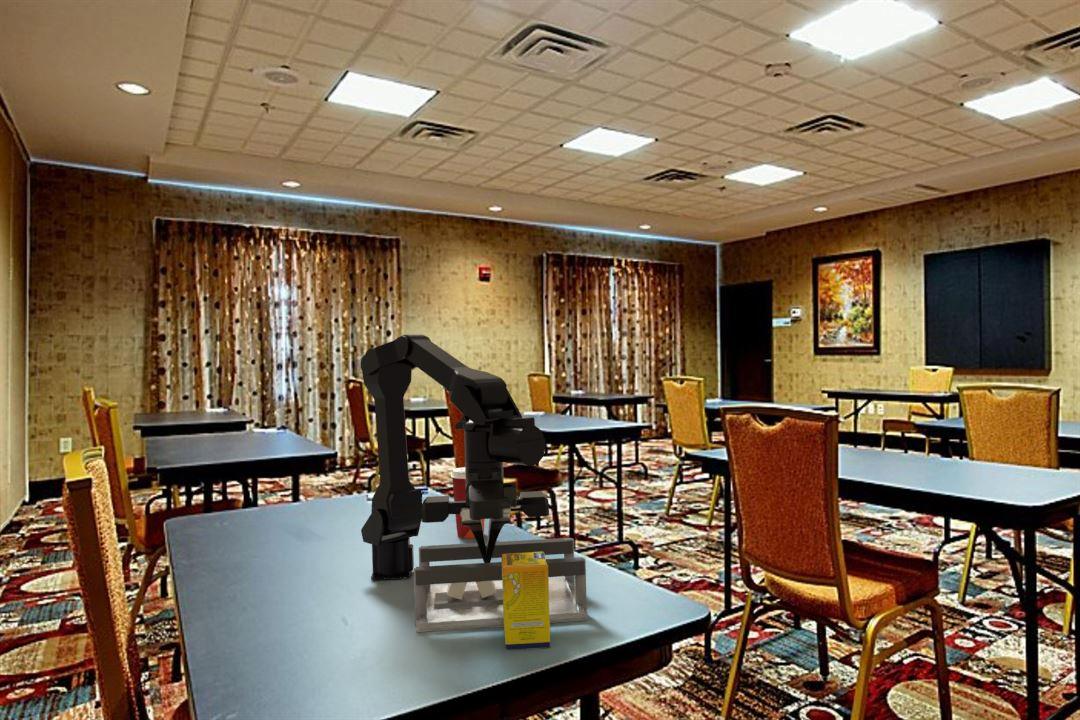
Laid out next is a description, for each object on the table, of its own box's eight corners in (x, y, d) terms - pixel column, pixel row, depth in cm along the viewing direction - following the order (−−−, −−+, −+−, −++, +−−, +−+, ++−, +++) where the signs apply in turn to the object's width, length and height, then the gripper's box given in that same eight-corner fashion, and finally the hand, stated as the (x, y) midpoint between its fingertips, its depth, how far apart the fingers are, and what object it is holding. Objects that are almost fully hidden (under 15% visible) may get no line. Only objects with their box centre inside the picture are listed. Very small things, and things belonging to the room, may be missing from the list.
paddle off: (482, 598, 104) (474, 579, 104) (481, 590, 107) (474, 572, 107) (496, 592, 104) (488, 574, 104) (495, 585, 107) (487, 567, 107)
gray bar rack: (414, 628, 98) (413, 571, 98) (420, 596, 111) (419, 546, 111) (588, 616, 101) (586, 560, 101) (573, 586, 114) (572, 537, 114)
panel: (416, 632, 97) (416, 619, 97) (423, 593, 112) (422, 582, 112) (587, 620, 99) (587, 607, 99) (570, 583, 115) (570, 572, 115)
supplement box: (503, 633, 96) (500, 553, 95) (546, 630, 96) (544, 550, 96) (504, 651, 90) (502, 566, 90) (551, 648, 90) (548, 563, 90)
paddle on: (447, 595, 103) (453, 576, 103) (447, 588, 107) (453, 569, 107) (461, 599, 103) (467, 580, 104) (461, 592, 107) (467, 573, 107)
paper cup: (483, 540, 144) (481, 472, 143) (447, 539, 145) (445, 472, 145) (493, 530, 151) (491, 466, 151) (459, 530, 153) (457, 466, 153)
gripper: (417, 471, 96) (421, 584, 96) (552, 465, 98) (555, 576, 98) (422, 459, 107) (425, 561, 108) (543, 454, 109) (546, 554, 110)
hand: (487, 563), depth 105 cm, fingers closed
